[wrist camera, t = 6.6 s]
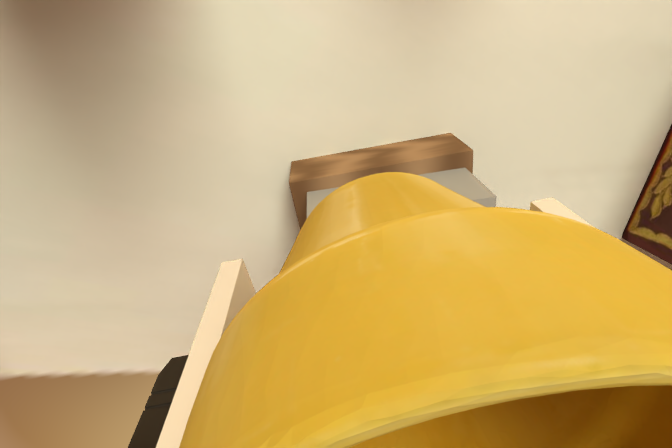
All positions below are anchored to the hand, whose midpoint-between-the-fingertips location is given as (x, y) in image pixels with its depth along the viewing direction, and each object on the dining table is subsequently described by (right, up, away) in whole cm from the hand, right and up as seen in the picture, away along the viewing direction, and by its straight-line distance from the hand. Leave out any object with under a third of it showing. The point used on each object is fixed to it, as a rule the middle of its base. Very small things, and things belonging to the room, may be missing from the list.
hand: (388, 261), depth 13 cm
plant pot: (0, +1, +1) cm, 1 cm away
